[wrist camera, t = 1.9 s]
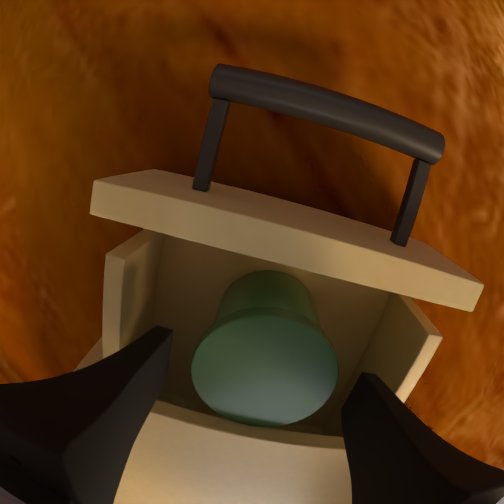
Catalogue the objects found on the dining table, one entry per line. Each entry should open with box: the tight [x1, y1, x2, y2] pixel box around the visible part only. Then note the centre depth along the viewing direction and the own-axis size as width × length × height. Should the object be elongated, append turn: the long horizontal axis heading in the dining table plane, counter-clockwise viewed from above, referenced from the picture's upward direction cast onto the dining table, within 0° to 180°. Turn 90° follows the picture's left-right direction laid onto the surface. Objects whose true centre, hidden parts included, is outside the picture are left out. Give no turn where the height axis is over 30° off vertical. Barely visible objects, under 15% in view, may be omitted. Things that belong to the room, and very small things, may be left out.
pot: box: [190, 270, 339, 427], centre depth 13 cm, size 5×5×5 cm
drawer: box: [90, 64, 484, 437], centre depth 13 cm, size 18×14×6 cm
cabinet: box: [74, 337, 352, 504], centre depth 17 cm, size 15×16×8 cm
